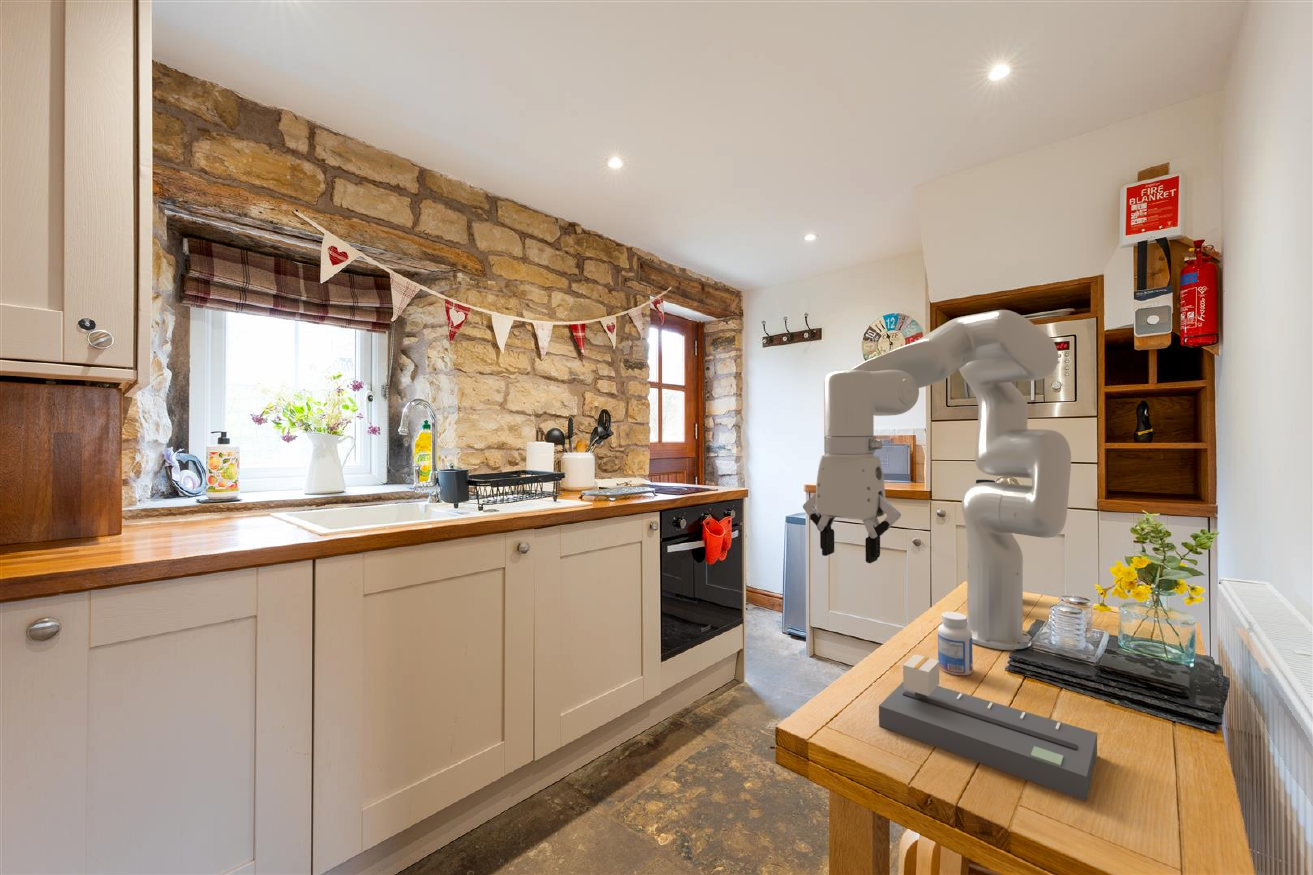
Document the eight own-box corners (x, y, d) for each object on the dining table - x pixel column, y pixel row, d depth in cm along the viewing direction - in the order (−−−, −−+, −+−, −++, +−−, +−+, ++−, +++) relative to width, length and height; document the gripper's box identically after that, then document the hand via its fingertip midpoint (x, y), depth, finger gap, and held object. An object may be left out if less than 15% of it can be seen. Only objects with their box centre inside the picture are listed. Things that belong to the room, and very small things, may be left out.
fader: (914, 686, 85) (914, 653, 85) (939, 693, 82) (939, 659, 82) (903, 698, 81) (903, 664, 81) (928, 706, 79) (928, 671, 78)
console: (907, 695, 89) (907, 675, 89) (1097, 755, 72) (1097, 731, 72) (878, 725, 80) (878, 704, 80) (1086, 801, 64) (1086, 774, 64)
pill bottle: (954, 660, 101) (954, 608, 101) (979, 673, 96) (979, 618, 96) (930, 665, 99) (930, 612, 99) (955, 678, 94) (955, 622, 94)
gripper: (913, 447, 85) (913, 561, 85) (810, 445, 97) (811, 546, 97) (895, 449, 79) (895, 572, 80) (788, 447, 91) (789, 553, 92)
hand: (849, 556), depth 89 cm, fingers open, 6 cm apart
